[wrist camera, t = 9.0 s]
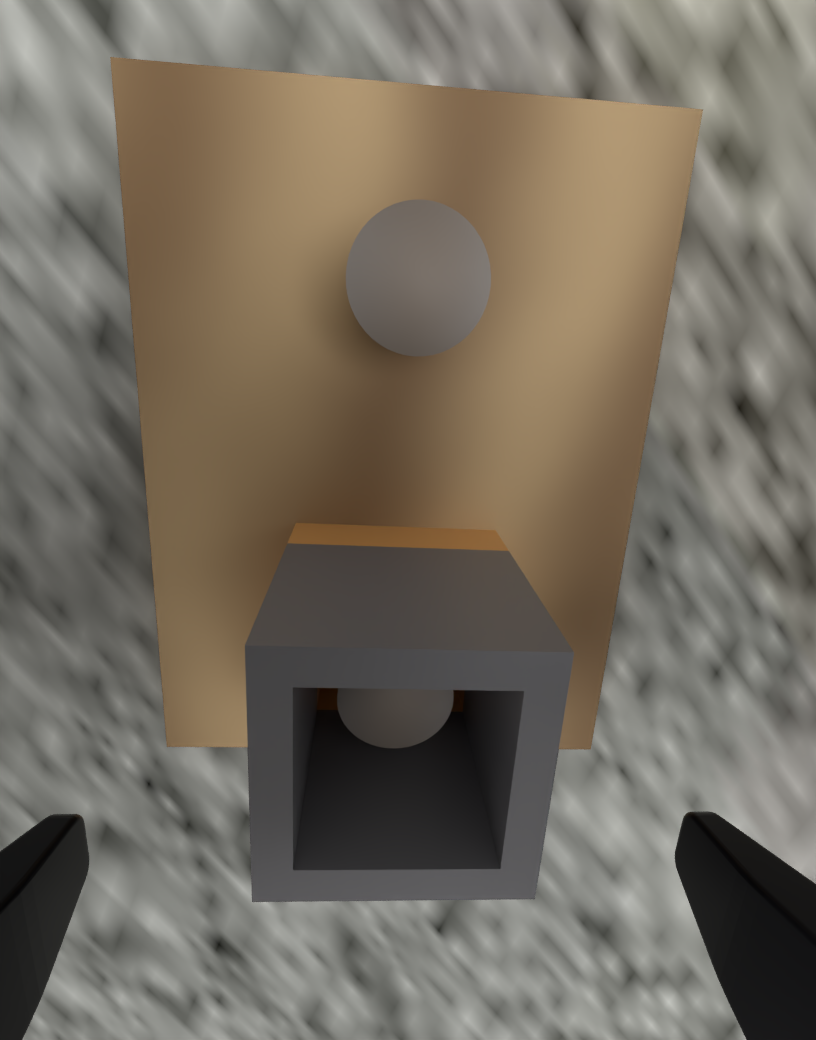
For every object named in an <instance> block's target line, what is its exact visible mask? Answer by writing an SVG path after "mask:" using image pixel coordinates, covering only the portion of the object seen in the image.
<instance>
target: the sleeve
mask: <svg viewBox="0 0 816 1040" xmlns="http://www.w3.org/2000/svg"><path fill="white" fill-rule="evenodd" d="M573 657H574V652H573V650H572V648H571V647H570V645H569V644H568V642H567V641H566V639H565V637H564V636H563V634H562V633H561V631H560V630H559V628H558V627H557V625H556V623H555V622H554V620H553V619H552V617H551V616H550V614H549V613H548V611H547V609H546V608H545V606H544V605H543V603H542V602H541V600H540V599H539V597H538V595H537V594H536V592H535V591H534V589H533V588H532V586H531V585H530V583H529V581H528V580H527V578H526V577H525V575H524V574H523V572H522V570H521V569H520V567H519V566H518V564H517V563H516V561H515V560H514V558H513V556H512V555H511V553H510V552H509V550H508V549H507V547H506V546H505V544H504V542H503V541H502V539H501V538H500V536H499V535H498V533H497V532H496V530H477V529H450V528H422V527H395V526H368V525H341V524H314V523H296V524H295V526H294V529H293V531H292V533H291V536H290V538H289V541H288V543H287V545H286V548H285V550H284V553H283V555H282V557H281V560H280V562H279V565H278V567H277V569H276V572H275V574H274V577H273V579H272V581H271V584H270V586H269V589H268V591H267V593H266V596H265V598H264V601H263V603H262V605H261V608H260V610H259V613H258V615H257V617H256V620H255V622H254V625H253V627H252V629H251V632H250V634H249V637H248V639H247V641H246V644H245V672H246V706H247V741H248V775H249V810H250V844H251V879H252V902H292V901H391V900H490V899H535V894H536V888H537V882H538V876H539V869H540V863H541V857H542V851H543V844H544V838H545V832H546V826H547V819H548V813H549V807H550V801H551V794H552V788H553V782H554V776H555V769H556V763H557V757H558V751H559V744H560V738H561V732H562V726H563V719H564V713H565V707H566V701H567V694H568V688H569V682H570V676H571V669H572V663H573ZM338 688H362V689H423V690H453V693H454V701H453V707H452V710H451V713H450V715H449V717H448V719H447V721H446V722H445V724H444V725H443V726H442V727H441V729H440V730H439V731H438V732H436V733H435V734H434V735H433V736H431V737H430V738H429V739H427V740H425V741H423V742H421V743H419V744H416V745H413V746H409V747H404V748H383V747H377V746H374V745H371V744H369V743H366V742H364V741H362V740H361V739H359V738H358V737H356V736H355V735H354V734H353V733H352V732H351V731H350V730H349V729H348V728H347V727H346V726H345V724H344V723H343V721H342V719H341V717H340V714H339V711H338V706H337V694H338Z"/></svg>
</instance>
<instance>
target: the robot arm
mask: <svg viewBox="0 0 816 1040" xmlns="http://www.w3.org/2000/svg"><path fill="white" fill-rule="evenodd" d="M675 864H676V868H677V871H678V874H679V877H680V879H681V882H682V885H683V887H684V890H685V893H686V895H687V898H688V901H689V903H690V906H691V909H692V911H693V914H694V917H695V919H696V922H697V925H698V927H699V930H700V933H701V935H702V938H703V941H704V943H705V946H706V949H707V951H708V954H709V957H710V959H711V962H712V965H713V967H714V969H715V972H716V974H717V977H718V979H719V982H720V984H721V986H722V988H723V991H724V993H725V995H726V997H727V999H728V1002H729V1004H730V1006H731V1008H732V1010H733V1012H734V1014H735V1016H736V1018H737V1021H738V1023H739V1025H740V1027H741V1029H742V1031H743V1033H744V1035H745V1037H746V1039H747V1040H816V884H815V883H813V882H812V881H811V880H809V879H808V878H806V877H805V876H804V875H802V874H801V873H799V872H798V871H797V870H795V869H794V868H792V867H791V866H789V865H788V864H787V863H785V862H784V861H782V860H781V859H780V858H778V857H777V856H775V855H774V854H773V853H771V852H770V851H768V850H767V849H766V848H764V847H763V846H761V845H760V844H758V843H757V842H756V841H754V840H753V839H751V838H750V837H749V836H747V835H746V834H744V833H743V832H742V831H740V830H739V829H737V828H736V827H734V826H733V825H732V824H730V823H729V822H727V821H726V820H725V819H723V818H722V817H720V816H719V815H717V814H716V813H713V812H688V813H687V814H686V815H685V816H684V818H683V821H682V825H681V829H680V833H679V838H678V842H677V846H676V850H675ZM88 867H89V852H88V845H87V838H86V831H85V824H84V820H83V818H82V816H80V815H78V814H54V815H50V816H48V817H47V818H45V819H43V820H42V821H41V822H39V823H38V824H37V825H35V826H34V827H33V828H31V829H30V830H29V831H27V832H26V833H25V834H23V835H22V836H20V837H19V838H18V839H16V840H15V841H14V842H12V843H11V844H10V845H8V846H7V847H6V848H4V849H3V850H1V851H0V1040H22V1039H23V1037H24V1035H25V1033H26V1030H27V1028H28V1026H29V1024H30V1022H31V1020H32V1018H33V1015H34V1013H35V1011H36V1009H37V1006H38V1004H39V1002H40V1000H41V997H42V995H43V992H44V990H45V987H46V985H47V982H48V979H49V977H50V974H51V971H52V969H53V966H54V963H55V961H56V958H57V955H58V952H59V950H60V947H61V944H62V942H63V939H64V936H65V933H66V931H67V928H68V925H69V923H70V920H71V917H72V914H73V912H74V909H75V906H76V904H77V901H78V898H79V895H80V893H81V890H82V887H83V885H84V882H85V879H86V876H87V872H88Z"/></svg>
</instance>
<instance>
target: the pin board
mask: <svg viewBox="0 0 816 1040" xmlns="http://www.w3.org/2000/svg"><path fill="white" fill-rule="evenodd" d="M110 58H111V70H112V82H113V94H114V107H115V119H116V131H117V143H118V155H119V168H120V180H121V192H122V204H123V216H124V229H125V241H126V253H127V265H128V277H129V290H130V302H131V314H132V326H133V338H134V351H135V363H136V375H137V387H138V399H139V412H140V424H141V436H142V448H143V460H144V473H145V485H146V497H147V509H148V521H149V533H150V546H151V558H152V570H153V582H154V594H155V607H156V619H157V631H158V643H159V655H160V668H161V680H162V692H163V704H164V716H165V729H166V741H167V747H248V741H247V706H246V672H245V644H246V641H247V639H248V637H249V634H250V632H251V629H252V627H253V625H254V622H255V620H256V617H257V615H258V613H259V610H260V608H261V605H262V603H263V601H264V598H265V596H266V593H267V591H268V589H269V586H270V584H271V581H272V579H273V577H274V574H275V572H276V569H277V567H278V565H279V562H280V560H281V557H282V555H283V553H284V550H285V548H286V545H287V543H288V541H289V538H290V536H291V533H292V531H293V529H294V526H295V524H296V523H314V524H341V525H368V526H395V527H422V528H450V529H477V530H496V532H497V533H498V535H499V536H500V538H501V539H502V541H503V542H504V544H505V546H506V547H507V549H508V550H509V552H510V553H511V555H512V556H513V558H514V560H515V561H516V563H517V564H518V566H519V567H520V569H521V570H522V572H523V574H524V575H525V577H526V578H527V580H528V581H529V583H530V585H531V586H532V588H533V589H534V591H535V592H536V594H537V595H538V597H539V599H540V600H541V602H542V603H543V605H544V606H545V608H546V609H547V611H548V613H549V614H550V616H551V617H552V619H553V620H554V622H555V623H556V625H557V627H558V628H559V630H560V631H561V633H562V634H563V636H564V637H565V639H566V641H567V642H568V644H569V645H570V647H571V648H572V650H573V652H574V657H573V663H572V669H571V676H570V682H569V688H568V694H567V701H566V707H565V713H564V719H563V726H562V732H561V738H560V744H559V749H591V744H592V738H593V732H594V727H595V721H596V715H597V710H598V704H599V698H600V693H601V687H602V681H603V675H604V670H605V664H606V658H607V653H608V647H609V641H610V636H611V630H612V624H613V619H614V613H615V607H616V601H617V596H618V590H619V584H620V579H621V573H622V567H623V562H624V556H625V550H626V544H627V539H628V533H629V527H630V522H631V516H632V510H633V505H634V499H635V493H636V488H637V482H638V476H639V470H640V465H641V459H642V453H643V448H644V442H645V436H646V431H647V425H648V419H649V413H650V408H651V402H652V396H653V391H654V385H655V379H656V374H657V368H658V362H659V357H660V351H661V345H662V339H663V334H664V328H665V322H666V317H667V311H668V305H669V300H670V294H671V288H672V282H673V277H674V271H675V265H676V260H677V254H678V248H679V243H680V237H681V231H682V226H683V220H684V214H685V208H686V203H687V197H688V191H689V186H690V180H691V174H692V169H693V163H694V157H695V151H696V146H697V140H698V134H699V129H700V123H701V117H702V112H703V110H702V109H691V108H680V107H668V106H657V105H646V104H635V103H623V102H612V101H601V100H589V99H578V98H567V97H555V96H544V95H533V94H521V93H510V92H499V91H488V90H476V89H465V88H454V87H442V86H431V85H420V84H408V83H397V82H386V81H374V80H363V79H352V78H341V77H329V76H318V75H307V74H295V73H284V72H273V71H261V70H250V69H239V68H227V67H216V66H205V65H194V64H182V63H171V62H160V61H148V60H137V59H126V58H114V57H110ZM453 701H454V693H453V690H423V689H362V688H338V694H337V706H338V711H339V714H340V717H341V719H342V721H343V723H344V724H345V726H346V727H347V728H348V729H349V730H350V731H351V732H352V733H353V734H354V735H355V736H356V737H358V738H359V739H361V740H362V741H364V742H366V743H369V744H371V745H374V746H377V747H383V748H404V747H409V746H413V745H416V744H419V743H421V742H423V741H425V740H427V739H429V738H430V737H431V736H433V735H434V734H435V733H436V732H438V731H439V730H440V729H441V727H442V726H443V725H444V724H445V722H446V721H447V719H448V717H449V715H450V713H451V710H452V707H453Z"/></svg>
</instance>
